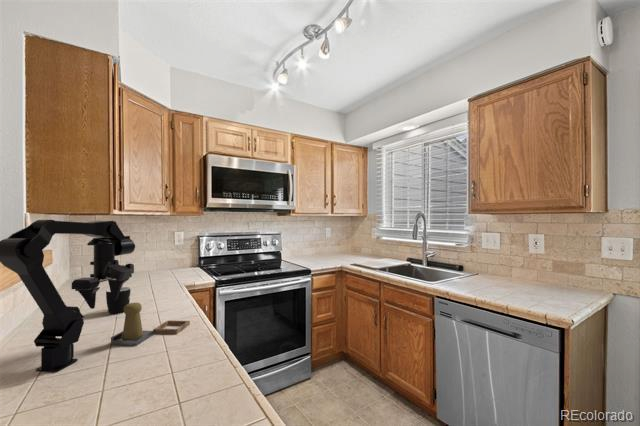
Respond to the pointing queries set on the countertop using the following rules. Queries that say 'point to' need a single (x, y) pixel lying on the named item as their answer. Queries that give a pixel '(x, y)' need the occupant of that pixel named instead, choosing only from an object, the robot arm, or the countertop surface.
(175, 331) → the socket collar
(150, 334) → the gray hardcover book
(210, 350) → the countertop surface
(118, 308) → the mug
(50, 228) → the robot arm
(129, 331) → the cork
